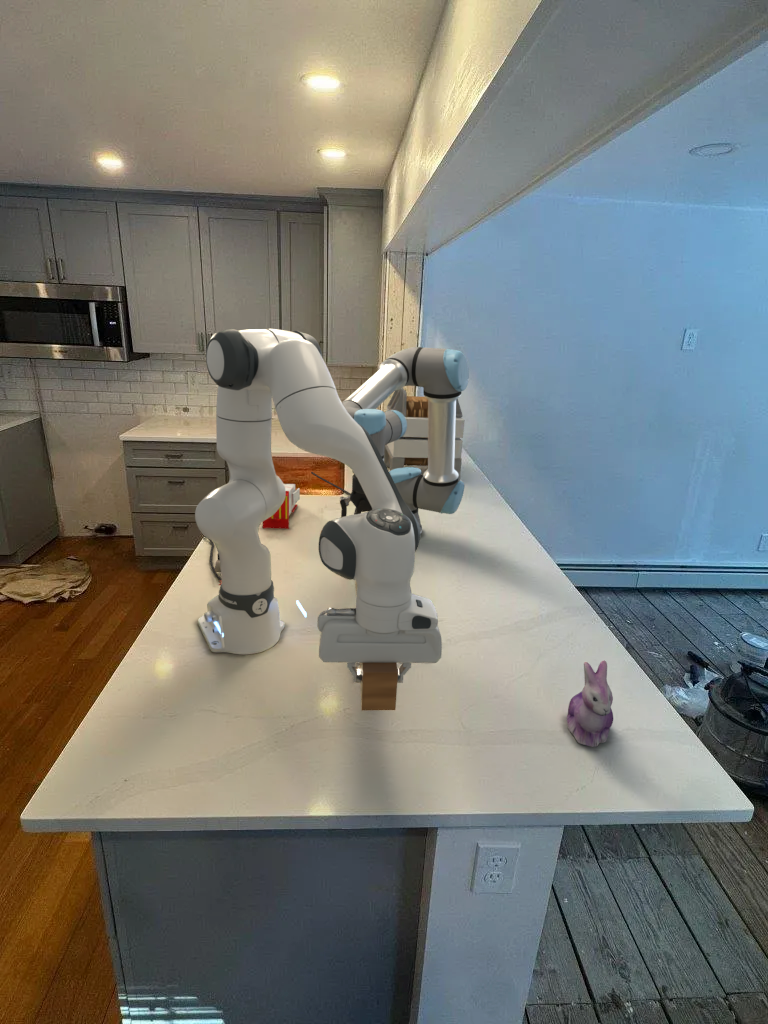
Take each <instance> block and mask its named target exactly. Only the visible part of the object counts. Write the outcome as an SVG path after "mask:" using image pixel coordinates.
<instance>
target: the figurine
mask: <svg viewBox="0 0 768 1024" xmlns="http://www.w3.org/2000/svg"><path fill="white" fill-rule="evenodd" d="M583 676H584V677H583V678H584V686H583V688H582V690H581V691H580V692H579V693H577V694H575V695H574V696H572V698H571V699H570V700H569V703H568V709H567V714H566V725H567V728H568V731H569V732H570V733H571V734H572V736H573V737H574V738H575V740H576V742H577V743H578V744H580V745H584V746H588V747H593V748H596V747H598V746H599V745H600V744H601V743H602V744H603V743H605V742H606V741H607V739H608V737H609V734H610V728H611V727H612V726H613V723H614V712H613V709H612V704H613V701H614V697H613V692H612V689H611V687H610V686H609V684H608V680H607V677H608V663H607V661H606V660H602V661H600V663H599V664H598V667H597V670H596V671H595V670H594V669H593V667H592V665H591V664H590V663H589V662H588V661H584V662H583Z"/></svg>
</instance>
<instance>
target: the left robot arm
mask: <svg viewBox="0 0 768 1024" xmlns="http://www.w3.org/2000/svg"><path fill="white" fill-rule="evenodd" d="M205 349H206V350H205V362H206V368H207V372H208V374H209V376H210V378H211V379H212V381H213V382H214V383H215V384H216V385H217V386H218V387H217V394H216V405H215V406H216V410H215V411H216V412H215V414H216V415H215V416H216V417H215V418H216V420H215V421H216V422H215V425H216V429H215V430H216V452H217V454H218V456H219V457H220V458H221V459H223V460H224V461H225V463H226V465H227V468H228V473H229V479H228V480H229V481H228V482H227V483H226V484H224V485H222V486H221V485H220V486H219V487H217V488H215V489H213V490H211V491H210V492H209V493H208V494H207V495H206V496H204V497H203V498H202V500H200V502H199V503H197V505H196V508H195V510H194V520H195V524H196V526H197V528H198V530H199V531H200V533H201V534H202V535H203V537H202V539H208V541H209V543H210V544H211V546H210V547H211V548H210V552H209V565H210V569H211V571H212V573H213V575H214V576H215V577H216V579H217V580H218V586H219V589H218V594H217V595H216V596H214V597H212V598H210V600H209V601H208V602H207V605H206V612H204V613H203V615H201V616H200V617H199V618H198V619H197V624H198V627H199V628H200V631H201V634H202V635H203V637H204V639H205V641H206V643H207V645H208V647H209V650H210V652H212V653H229V654H234V655H254V654H258V653H262V652H265V651H268V650H269V649H271V648H273V647H274V646H275V645H276V644H277V643H278V642H279V641H280V639H281V633H282V632H283V630H284V629H285V627H286V624H285V621H284V620H281V614H280V607H279V599H278V598H277V597H275V587H274V581H273V580H272V556H271V551H270V549H269V548H268V546H266V545H265V544H263V543H262V541H261V538H260V534H259V529H260V525H261V524H263V521H265V520H266V519H268V518H269V517H271V516H272V515H274V514H275V513H276V511H277V510H278V509H279V508H280V506H281V505H282V503H283V502H284V500H285V496H286V490H285V486H284V484H285V483H284V481H283V480H282V479H281V478H280V476H278V475H277V472H276V469H275V465H274V461H273V454H272V428H273V427H272V425H273V424H272V421H273V418H272V417H273V407H272V406H273V405H274V409H275V411H276V415H277V418H278V419H277V420H278V422H279V424H280V427H281V429H282V432H283V434H284V435H285V436H286V438H287V440H288V441H289V442H290V443H292V444H293V445H294V446H295V447H297V448H298V449H301V450H302V451H304V452H307V453H310V454H313V455H317V456H322V457H327V458H330V459H332V460H335V461H337V462H340V463H342V464H344V465H345V466H347V467H348V468H349V469H350V470H351V472H352V473H353V472H354V473H355V475H356V476H357V478H358V480H359V482H360V484H361V486H362V489H363V491H364V493H365V495H366V497H367V499H368V501H369V503H370V505H371V507H372V510H371V511H366V512H361V514H354V513H353V514H350V515H346V516H345V517H341V516H340V517H337V518H334V519H332V520H329V521H327V522H326V523H325V524H324V525H323V527H322V528H321V531H320V533H319V538H318V554H319V559H320V561H321V563H322V564H323V566H324V567H326V569H327V570H329V571H330V572H332V573H334V574H336V575H337V576H339V577H342V578H343V579H346V580H350V581H351V580H353V581H354V582H355V581H356V583H357V590H356V589H355V607H344V608H336V607H329V608H328V607H327V608H326V609H325V610H323V611H321V612H320V613H319V614H318V616H317V622H316V624H317V625H316V626H317V630H318V631H319V633H320V635H319V645H318V658H319V659H320V660H321V661H322V663H338V664H339V663H344V664H345V663H346V667H347V669H348V670H349V672H350V673H351V675H352V683H353V684H358V683H359V684H360V683H361V679H362V672H361V669H359V668H357V666H356V665H357V663H358V664H359V663H397V664H400V666H399V667H398V668H397V669H398V680H397V684H403V683H404V676H405V675H406V674H407V673H408V672H409V670H410V669H411V668H412V664H437V663H438V662H439V661H440V660H441V658H442V655H443V654H442V652H443V651H442V650H443V644H442V643H443V642H442V635H441V631H440V626H439V625H438V624H439V618H438V617H439V615H438V612H437V608H436V607H435V606H436V605H435V603H434V602H433V601H432V600H431V599H430V598H428V597H426V596H425V597H424V596H423V595H418V594H415V593H413V592H412V587H411V581H412V580H411V579H412V577H413V575H414V572H415V559H416V552H417V551H418V548H419V546H420V543H421V537H422V535H421V532H420V527H419V524H418V521H417V519H416V518H415V516H414V514H413V513H412V512H411V510H410V509H409V508H408V506H407V505H406V503H405V502H404V500H403V499H402V497H401V495H400V493H399V491H398V489H397V487H396V485H395V483H394V481H393V479H392V477H391V475H390V473H389V472H390V470H389V469H388V467H387V466H386V465H385V463H384V461H383V459H382V457H381V455H380V453H379V451H378V449H377V447H376V445H375V443H374V441H373V440H372V438H371V436H370V435H369V433H368V432H367V430H366V429H365V428H364V427H363V426H361V425H360V424H358V423H357V422H356V421H355V420H354V419H353V418H352V417H351V416H350V414H349V413H348V412H347V410H346V409H345V407H344V406H343V404H342V402H343V401H342V400H341V398H340V396H339V394H338V390H337V387H336V385H335V382H334V379H333V377H332V374H331V373H330V370H329V368H328V366H327V364H326V362H325V360H324V358H323V353H322V349H321V347H320V344H319V342H318V340H317V339H316V337H314V336H312V335H310V334H308V333H306V332H302V331H299V330H292V331H289V330H286V329H284V330H283V329H278V328H277V329H276V328H255V329H240V330H237V329H235V328H230V329H225V330H219V331H217V332H214V333H213V335H212V336H211V338H210V339H209V340H208V343H207V345H206V348H205ZM272 402H273V404H272ZM354 473H353V474H354ZM204 537H205V538H204ZM214 548H216V551H217V554H219V558H220V567H221V572H220V575H219V574H218V572H215V566H214V562H213V555H214V550H215V549H214ZM296 605H297V607H298V609H299V610H300V611H301V613H302V615H303V616H304V618H307V617H308V616H307V611H305V609H304V608H303V606H302V604H301V603H300V601H299V600H296Z"/></svg>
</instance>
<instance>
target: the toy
mask: <svg viewBox="0 0 768 1024" xmlns="http://www.w3.org/2000/svg"><path fill="white" fill-rule="evenodd" d="M283 484H284V486H285V490H286V496H285V500H284V502H283V503H282V505H281V506H280V508H279V509H278V510H277V511H276V513H275V514H274V515H272V516H271V517H269V518H268V519H266V520H265V521H263V522H262V529H282V530H283V529H284V530H285V529H286V530H289V529H290V515H291V513H294V512H295V510H296V509H297V507H298V504H297V503H298V502H299V501H300V499H301V490H300V487H298V488H297V489H296V484H295V483H283Z"/></svg>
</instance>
